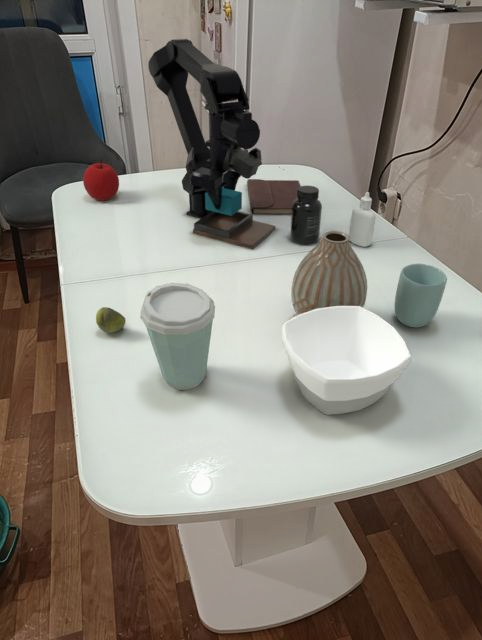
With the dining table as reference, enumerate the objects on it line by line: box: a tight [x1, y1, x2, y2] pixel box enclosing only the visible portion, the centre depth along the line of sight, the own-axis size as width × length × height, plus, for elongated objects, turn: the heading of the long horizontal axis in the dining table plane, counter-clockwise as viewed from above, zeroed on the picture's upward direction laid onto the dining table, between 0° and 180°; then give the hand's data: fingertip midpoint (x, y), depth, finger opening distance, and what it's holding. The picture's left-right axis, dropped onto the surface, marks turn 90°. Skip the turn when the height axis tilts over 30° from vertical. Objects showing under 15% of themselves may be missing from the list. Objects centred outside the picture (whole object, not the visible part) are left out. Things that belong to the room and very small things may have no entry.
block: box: [205, 188, 243, 216], centre depth 119 cm, size 5×7×4 cm
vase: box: [290, 230, 368, 316], centre depth 88 cm, size 13×13×18 cm
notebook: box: [246, 178, 302, 215], centre depth 138 cm, size 15×20×2 cm
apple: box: [82, 158, 120, 201], centre depth 133 cm, size 9×9×10 cm
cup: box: [393, 263, 448, 328], centre depth 92 cm, size 8×8×10 cm
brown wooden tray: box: [192, 210, 277, 250], centre depth 122 cm, size 16×12×2 cm
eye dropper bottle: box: [348, 191, 377, 248], centre depth 116 cm, size 4×6×12 cm
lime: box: [95, 306, 127, 333], centre depth 88 cm, size 4×5×5 cm
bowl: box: [280, 306, 412, 415], centre depth 78 cm, size 18×18×9 cm
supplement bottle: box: [289, 185, 323, 245], centre depth 117 cm, size 7×7×12 cm
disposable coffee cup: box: [140, 282, 216, 391], centre depth 76 cm, size 11×11×15 cm
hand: (223, 205), depth 120 cm, fingers closed on block, 5 cm apart
